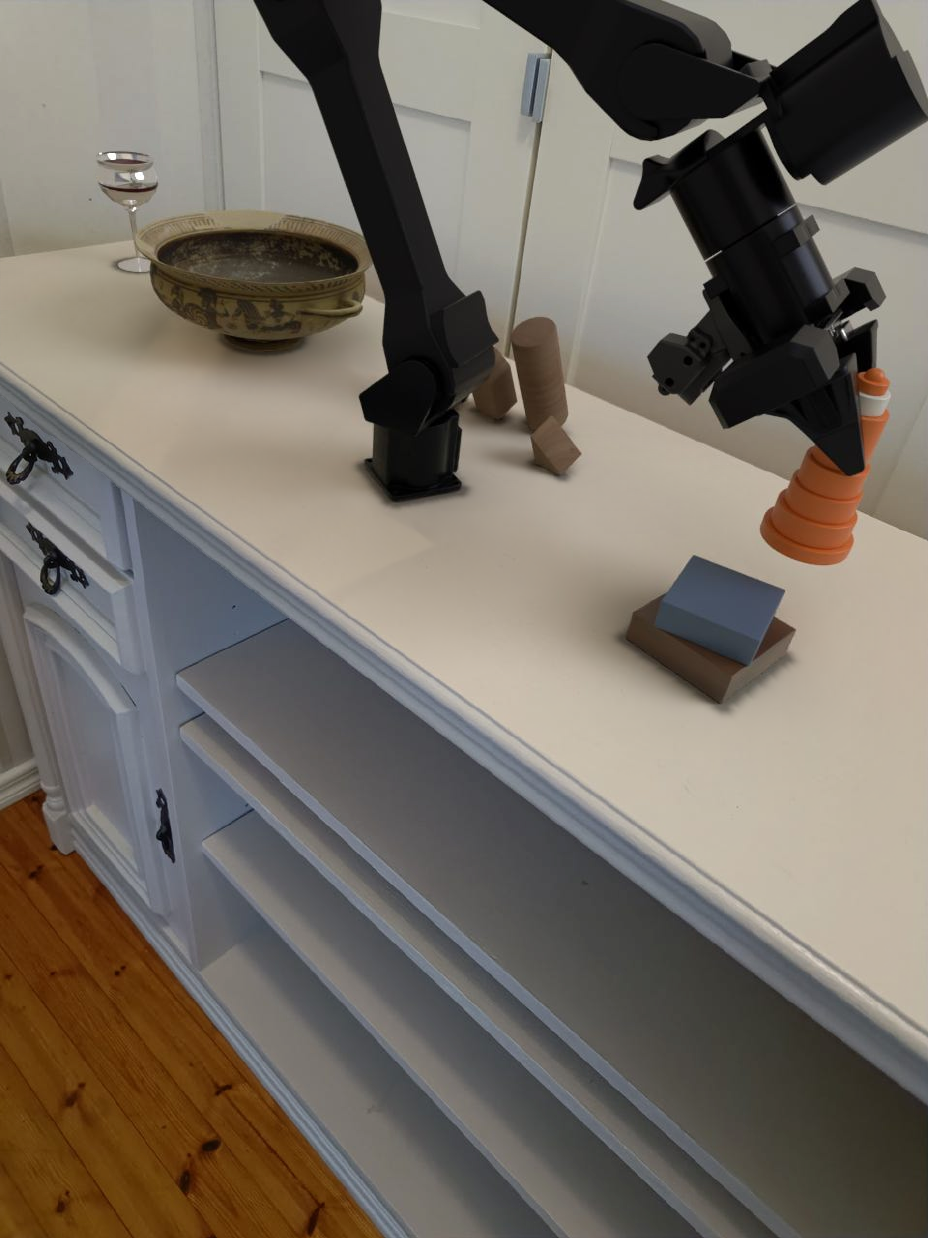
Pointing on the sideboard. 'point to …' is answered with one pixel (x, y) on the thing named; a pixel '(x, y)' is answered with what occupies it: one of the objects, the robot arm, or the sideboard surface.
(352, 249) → the ceramic bowl
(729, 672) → the base block
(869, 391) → the cone
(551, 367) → the wooden block set
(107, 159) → the wineglass
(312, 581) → the sideboard surface
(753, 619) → the top block
